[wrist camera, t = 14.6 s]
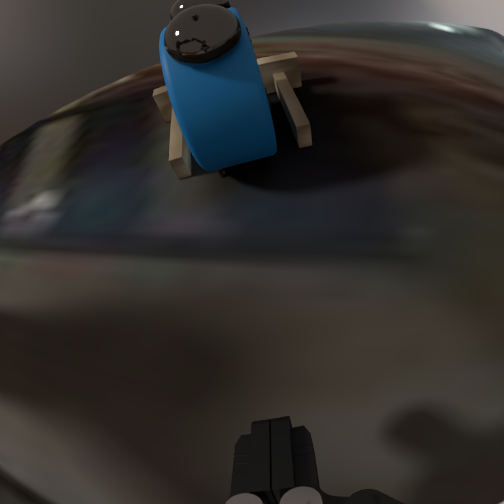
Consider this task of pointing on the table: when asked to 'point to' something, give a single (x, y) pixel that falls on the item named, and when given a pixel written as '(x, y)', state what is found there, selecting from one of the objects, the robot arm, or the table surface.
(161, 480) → the table surface
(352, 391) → the table surface
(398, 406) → the table surface
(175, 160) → the wooden staple shape
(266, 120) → the alarm clock
